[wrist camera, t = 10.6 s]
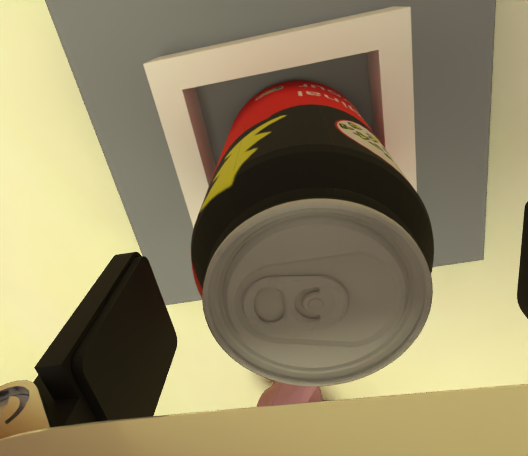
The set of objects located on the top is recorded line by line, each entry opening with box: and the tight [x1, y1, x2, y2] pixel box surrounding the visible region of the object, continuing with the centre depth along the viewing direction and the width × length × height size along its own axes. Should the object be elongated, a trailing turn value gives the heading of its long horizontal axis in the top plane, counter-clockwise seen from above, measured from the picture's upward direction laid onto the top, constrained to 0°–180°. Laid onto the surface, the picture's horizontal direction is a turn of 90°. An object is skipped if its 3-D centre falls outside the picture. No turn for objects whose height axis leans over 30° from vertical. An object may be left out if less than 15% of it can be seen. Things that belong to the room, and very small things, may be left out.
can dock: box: [45, 0, 496, 305], centre depth 19 cm, size 18×16×3 cm
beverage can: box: [191, 81, 434, 386], centre depth 15 cm, size 6×6×12 cm
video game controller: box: [257, 381, 322, 407], centre depth 27 cm, size 10×5×7 cm, turn 33°
